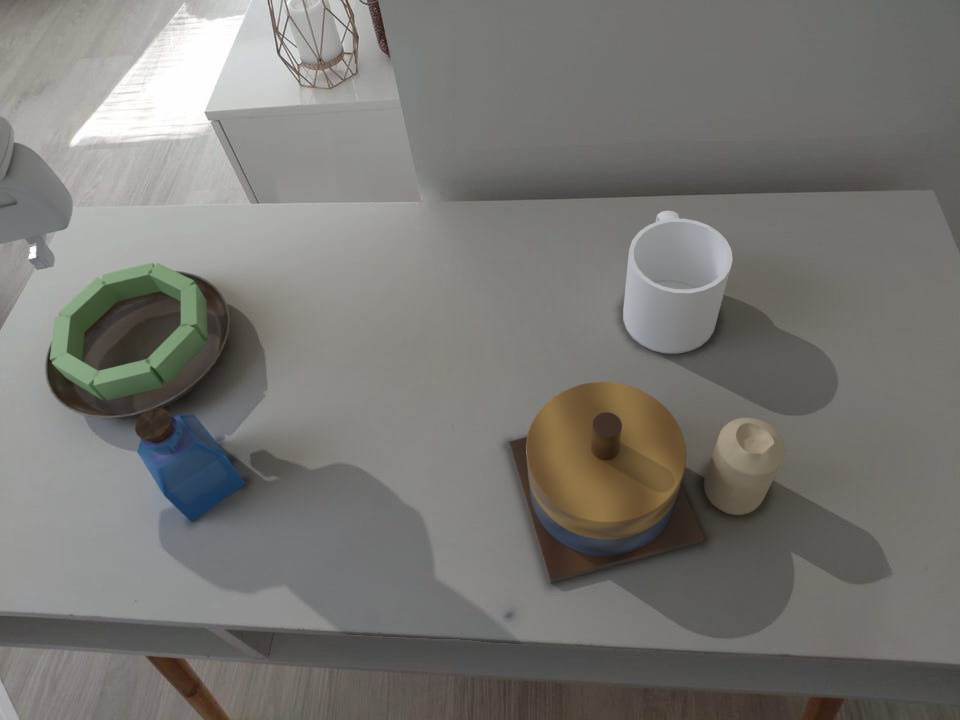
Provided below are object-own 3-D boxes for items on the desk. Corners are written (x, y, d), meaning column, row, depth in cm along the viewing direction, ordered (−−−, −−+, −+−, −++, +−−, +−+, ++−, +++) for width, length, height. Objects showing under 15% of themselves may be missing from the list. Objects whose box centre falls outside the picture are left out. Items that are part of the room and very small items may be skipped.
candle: (772, 477, 72) (798, 424, 63) (752, 526, 69) (777, 477, 61) (715, 453, 74) (734, 399, 65) (694, 499, 71) (711, 449, 63)
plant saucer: (129, 271, 95) (117, 253, 93) (270, 306, 90) (261, 288, 87) (23, 405, 85) (5, 389, 82) (175, 454, 79) (161, 439, 77)
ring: (60, 412, 80) (44, 397, 77) (72, 301, 89) (58, 284, 86) (209, 376, 81) (197, 360, 78) (205, 269, 90) (195, 252, 87)
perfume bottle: (192, 522, 75) (135, 467, 65) (165, 480, 78) (107, 421, 68) (246, 484, 76) (199, 425, 67) (217, 444, 80) (168, 382, 70)
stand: (550, 583, 68) (547, 527, 57) (509, 447, 76) (500, 375, 65) (702, 542, 69) (727, 479, 58) (646, 411, 77) (658, 335, 66)
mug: (724, 351, 80) (743, 288, 72) (629, 359, 81) (636, 297, 72) (701, 263, 87) (715, 196, 79) (613, 270, 88) (618, 205, 80)
